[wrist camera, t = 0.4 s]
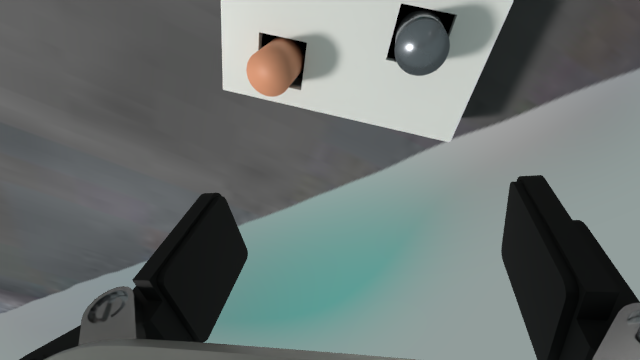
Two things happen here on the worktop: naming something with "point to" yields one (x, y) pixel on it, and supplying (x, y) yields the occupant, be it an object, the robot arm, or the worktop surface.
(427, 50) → the charcoal plunger
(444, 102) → the panel
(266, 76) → the orange rounded cylinder
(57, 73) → the worktop surface
